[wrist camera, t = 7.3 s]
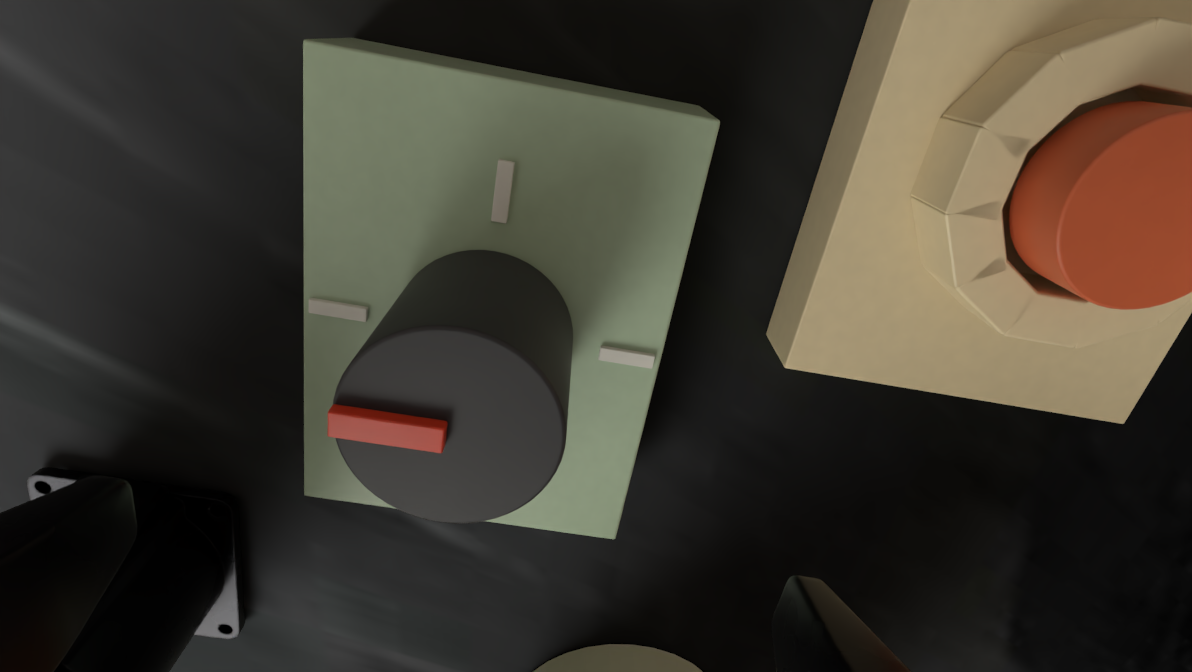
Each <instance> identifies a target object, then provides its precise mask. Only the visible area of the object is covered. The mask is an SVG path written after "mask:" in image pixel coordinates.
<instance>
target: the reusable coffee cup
mask: <svg viewBox="0 0 1192 672" xmlns="http://www.w3.org/2000/svg"><path fill="white" fill-rule="evenodd" d="M533 672H703V671H701V670H700V669H699V668H698V667H696V666H695V665H694V664H692V663H691V662H689V661H687V660H685V659H683V658H681V657H679V656H677V655H675V654H672V653H669V652H666V651H662V650H659V649H656V648H652V647H645V646H639V645H632V644H607V645H599V646H591V647H585V648H582V649H578V650H575V651H571V652H568V653H565V654H563V655H560V656H558V657H556V658H554V659H552V660H550V661H547V662H546V663H544V664H543V665H542V666H540V667H539V668H537V669H536V670H534V671H533Z"/></svg>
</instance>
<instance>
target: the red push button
mask: <svg viewBox="0 0 1192 672" xmlns="http://www.w3.org/2000/svg"><path fill="white" fill-rule="evenodd" d="M1009 228H1010V234H1011V238H1012V241H1013V244H1014V247H1015V249H1016V251H1017V253H1018V255H1019V256H1020V258H1021V259H1022V260H1023V261H1024V263H1025V264H1026V265H1027V266H1028V267H1030V268H1031V269H1032V270H1033V271H1035V272H1036V273H1038V274H1039V275H1041V276H1043V277H1045V278H1047V279H1048V280H1050V281H1052V282H1054V283H1056V284H1057V285H1059V286H1061V287H1063V288H1065V289H1067V290H1068V291H1070V292H1072V293H1074V294H1076V295H1078V296H1079V297H1081V298H1083V299H1085V300H1087V301H1089V302H1091V303H1093V304H1096V305H1098V306H1102V307H1106V308H1111V309H1120V310H1134V309H1143V308H1150V307H1154V306H1158V305H1162V304H1165V303H1168V302H1171V301H1174V300H1176V299H1179V298H1181V297H1183V296H1185V295H1187V294H1189V293H1191V292H1192V107H1184V106H1176V105H1168V104H1161V103H1153V102H1145V101H1124V102H1117V103H1112V104H1108V105H1105V106H1101V107H1098V108H1096V109H1093V110H1091V111H1088V112H1086V113H1084V114H1082V115H1080V116H1079V117H1077V118H1075V119H1073V120H1071V121H1070V122H1068V123H1067V124H1065V125H1064V126H1062V127H1061V128H1060V129H1059V130H1057V131H1056V132H1055V133H1054V134H1053V135H1051V136H1050V137H1049V138H1048V139H1047V140H1046V141H1045V142H1044V143H1043V144H1042V145H1041V146H1040V147H1039V148H1038V150H1037V151H1036V152H1035V153H1034V155H1033V156H1032V157H1031V159H1030V160H1029V162H1028V163H1027V165H1026V166H1025V168H1024V169H1023V171H1022V173H1021V175H1020V177H1019V179H1018V181H1017V184H1016V186H1015V189H1014V191H1013V195H1012V199H1011V203H1010V210H1009Z"/></svg>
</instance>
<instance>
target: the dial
mask: <svg viewBox="0 0 1192 672" xmlns="http://www.w3.org/2000/svg"><path fill="white" fill-rule="evenodd" d="M572 348H573V327H572V321H571V316H570V313H569V310H568V307H567V305H566V303H565V301H564V299H563V297H562V296H561V294H560V293H559V291H558V290H557V288H556V287H555V286H554V285H553V283H552V282H551V281H550V280H549V279H548V278H547V277H546V276H545V275H544V274H543V273H541V272H540V271H539V270H538V269H536V268H535V267H533V266H532V265H530V264H529V263H527V262H525V261H523V260H521V259H519V258H516V257H514V256H511V255H508V254H505V253H501V252H496V251H489V250H467V251H460V252H456V253H452V254H449V255H446V256H443V257H441V258H439V259H436V260H435V261H433V262H431V263H430V264H428V265H427V266H425V267H424V268H423V269H422V270H420V271H419V272H418V273H417V274H416V275H415V276H414V277H413V279H412V280H411V281H410V282H409V283H408V285H407V286H406V287H405V289H404V290H403V292H402V293H401V294H400V296H399V297H398V298H397V300H396V301H395V302H394V304H393V305H392V307H391V308H390V309H389V311H388V312H387V313H386V315H385V316H384V317H383V319H382V320H381V322H380V323H379V324H378V326H377V327H376V328H375V330H374V331H373V332H372V334H371V335H370V337H369V338H368V339H367V341H366V342H365V343H364V345H363V346H362V347H361V349H360V350H359V352H358V353H357V354H356V356H355V357H354V358H353V360H352V361H351V362H350V364H349V365H348V367H347V368H346V370H345V371H344V373H343V374H342V376H341V379H340V381H339V383H338V385H337V388H336V392H335V395H334V399H333V405H332V407H331V408H330V409H329V411H328V427H327V436H328V437H333V438H335V439H336V442H337V445H338V448H339V450H340V453H341V455H342V457H343V459H344V460H345V462H346V464H347V466H348V467H349V468H350V470H351V471H352V473H353V474H354V475H355V477H356V478H357V479H358V480H359V481H360V482H361V483H362V484H363V485H364V486H365V487H366V488H367V489H368V490H369V491H371V492H372V493H373V494H374V495H375V496H377V497H378V498H380V499H381V500H383V501H384V502H386V503H387V504H389V505H391V506H393V507H395V508H396V509H398V510H401V511H403V512H405V513H408V514H410V515H413V516H416V517H420V518H423V519H426V520H432V521H437V522H444V523H474V522H482V521H487V520H491V519H495V518H498V517H501V516H504V515H507V514H509V513H511V512H513V511H515V510H517V509H519V508H521V507H522V506H524V505H525V504H527V503H528V502H530V501H531V500H532V499H534V498H535V497H536V496H537V495H538V494H539V493H540V492H541V491H542V490H543V489H544V488H545V487H546V486H547V485H548V483H549V482H550V481H551V479H552V478H553V476H554V475H555V473H556V472H557V469H558V467H559V465H560V463H561V461H562V457H563V454H564V450H565V445H566V436H567V421H568V407H569V392H570V377H571V363H572Z"/></svg>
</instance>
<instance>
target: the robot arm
mask: <svg viewBox="0 0 1192 672" xmlns="http://www.w3.org/2000/svg"><path fill="white" fill-rule="evenodd" d="M27 488H28V493H29V497H30V501H28V502H26V503H24V504H21V505H19V506H16V507H14V508H11V509H9V510H7V511H4V512H2V513H0V672H169V671H170V670H171V668H172V667H173V665H174V664H175V662H176V661H177V659H178V658H179V656H180V655H181V653H182V652H183V650H184V649H185V647H186V646H187V644H188V643H189V641H190V640H191V638H192V637H193V635H199V636H207V637H215V638H223V639H232V638H235V637H237V636H238V635H239V633H240V631H241V630H242V628H243V626H244V623H245V617H244V599H243V580H242V562H241V544H240V525H239V507H238V503H237V501H236V499H235V498H234V497H233V496H231V495H230V494H228V493H225V492H220V491H212V490H205V489H198V488H191V487H184V486H177V485H170V484H163V483H156V482H149V481H141V480H134V479H127V478H120V477H113V476H106V475H99V474H92V473H85V472H77V471H70V470H63V469H56V468H42V469H39V470H38V471H37V472H36V473H34V474H33V475H32V476H30V477H29V479H28V480H27ZM216 505H217V506H220V507H222V508H223V509H224V510H223V509H220V508H219V507H217V506H216ZM772 640H773V649H774V657H775V665H776V672H911V671H910V670H909V669H908V668H907V667H906V666H905V665H904V664H903V663H902V661H901V660H900V659H899V658H898V657H897V656H896V655H895V654H894V653H893V652H892V651H891V650H890V649H889V648H888V647H887V646H886V645H885V644H884V643H883V642H882V641H881V640H880V639H879V638H878V637H877V636H876V635H875V634H874V633H873V632H872V631H871V630H870V629H869V628H868V627H867V626H866V625H865V623H864V622H863V621H862V620H861V619H860V618H859V617H858V616H857V615H856V614H855V613H854V612H853V611H852V610H851V609H850V608H849V607H848V606H847V605H846V604H845V603H844V602H843V601H842V600H841V599H840V598H839V597H838V596H837V595H836V594H835V593H834V592H833V591H832V590H831V589H830V588H829V587H828V586H827V584H826V583H824V582H823V581H822V580H820V579H818V578H814V577H807V576H800V575H794V576H791V577H790V578H789V579H788V581H787V583H786V585H785V588H784V590H783V592H782V595H781V597H780V600H779V602H778V605H777V607H776V610H775V612H774V615H773V619H772Z"/></svg>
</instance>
